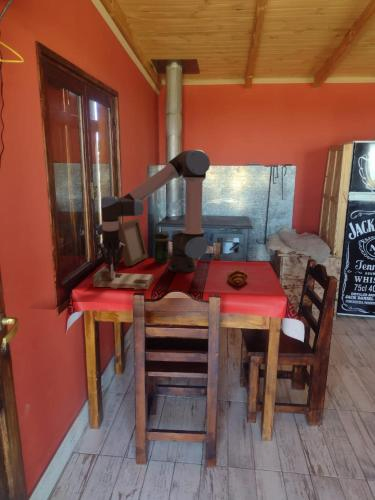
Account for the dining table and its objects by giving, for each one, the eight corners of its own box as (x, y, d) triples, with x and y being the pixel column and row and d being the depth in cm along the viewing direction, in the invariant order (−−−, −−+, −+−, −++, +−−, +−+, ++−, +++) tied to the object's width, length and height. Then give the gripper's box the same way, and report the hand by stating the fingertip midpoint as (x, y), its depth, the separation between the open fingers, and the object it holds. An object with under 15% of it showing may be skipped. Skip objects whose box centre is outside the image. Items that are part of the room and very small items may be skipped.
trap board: (153, 279, 184) (153, 268, 183) (147, 289, 169) (146, 277, 167) (104, 277, 187) (103, 266, 185) (93, 287, 171) (93, 275, 170)
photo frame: (147, 258, 225) (146, 218, 219) (131, 267, 205) (129, 224, 199) (126, 256, 230) (125, 217, 224) (109, 265, 210) (106, 223, 204)
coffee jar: (165, 264, 212) (165, 233, 207) (153, 263, 214) (152, 232, 209) (170, 260, 221) (170, 230, 217) (158, 259, 223) (158, 230, 218)
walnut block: (114, 278, 177) (114, 268, 176) (111, 281, 172) (111, 271, 171) (104, 277, 178) (104, 268, 177) (101, 281, 173) (100, 271, 172)
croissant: (230, 281, 193) (223, 268, 192) (247, 273, 192) (240, 260, 190) (232, 294, 172) (224, 280, 171) (251, 285, 171) (244, 271, 170)
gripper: (126, 228, 171) (128, 275, 176) (100, 228, 172) (102, 275, 177) (121, 231, 163) (124, 280, 169) (94, 230, 165) (97, 279, 170)
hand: (113, 277), depth 173 cm, fingers closed
